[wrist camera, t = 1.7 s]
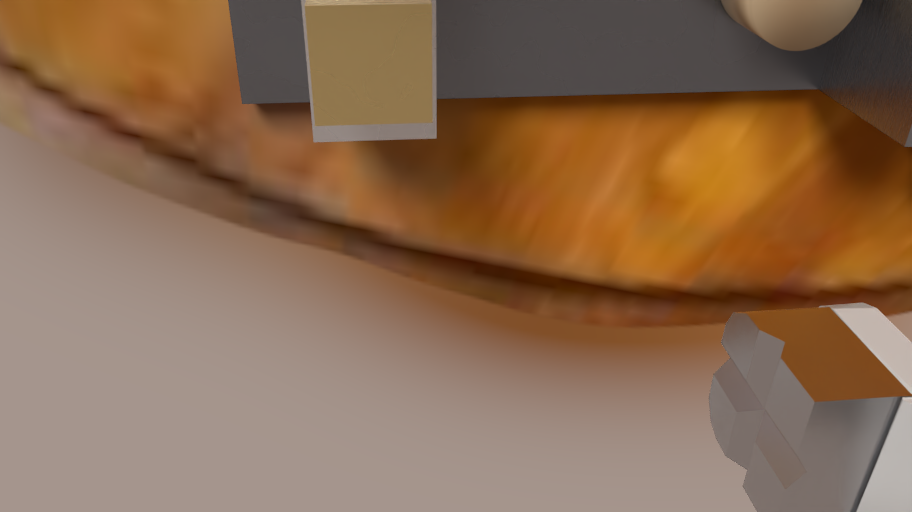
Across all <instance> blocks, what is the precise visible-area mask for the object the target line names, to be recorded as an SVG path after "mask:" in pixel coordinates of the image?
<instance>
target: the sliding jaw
mask: <svg viewBox="0 0 912 512" xmlns="http://www.w3.org/2000/svg"><path fill="white" fill-rule="evenodd" d="M301 5H302V17H303V28H304V39H305V50H306V61H307V73H308V84H309V95H310V106H311V118H312V129H313V140H314V142H337V141H370V140H403V139H436V138H437V95H436V0H301Z"/></svg>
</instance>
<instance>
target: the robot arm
mask: <svg viewBox="0 0 912 512" xmlns="http://www.w3.org/2000/svg"><path fill="white" fill-rule="evenodd" d="M721 343H722V345H723V347H724V348H725V350H726V351H727V353H728V355H729V356H730V359H729V360H728V361H727V362H726V363H724V365H722V366H721V368H719V369H718V370H717V371H716V372H715V373H714V375H713V380H712V385H711V390H710V395H709V405H710V418H711V423H712V427H713V430H714V433H715V436H716V439H717V441H718V443H719V445H720V446H721V448H722V450H723V452H724V454H725V456H727V457H728V458H730V459H731V460H733V461H734V462H736V463H738V464H739V465H740V466H742V467H744V468H745V469H747V473H746V477H745V480H744V484H743V488H744V489H745V491H746V493H747V495H748V496H749V498H750V500H751V501H752V503H753V505H754V507H755V508H756V510H757V512H912V342H911V341H910V340H909V339H908V338H907V337H906V336H905V335H904V334H903V333H901V332H900V331H899V330H898V329H897V328H896V327H895V326H894V325H893V324H892V323H891V322H890V321H889V320H888V319H887V318H886V317H885V316H884V315H883V314H882V313H881V312H880V311H879V310H878V309H877V308H875V307H873V306H870V305H868V304H865V303H852V304H840V305H827V306H820V307H818V308H802V309H786V310H769V311H752V312H736V313H733V314H732V316H731V317H730V319H729V320H728V322H727V323H726V326H725V330H724V334H723V338H722V342H721Z"/></svg>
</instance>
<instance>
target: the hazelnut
mask: <svg viewBox="0 0 912 512" xmlns="http://www.w3.org/2000/svg"><path fill="white" fill-rule="evenodd" d="M721 2H722V5H723V7H724V9H725V10H726V12H727V13H728V15H729V16H730V17H731V18H732V19H733V20H735V21H736V22H737V23H739V24H740V25H742V26H744V27H745V28H747V29H748V30H750V31H751V32H753V33H755V34H756V35H758V36H759V37H761V38H762V39H764V40H765V41H767V42H769V43H770V44H772V45H774V46H775V47H778V48H780V49H783V50H789V51H802V50H807V49H812V48H814V47H817V46H820V45H822V44H824V43H826V42H827V41H829V40H831V39H832V38H833V37H835V36H836V35H837V34H839V33H840V32H841V31H842V30H843V29H844V28H845V27H846V26H847V25H848V24H849V22H850V21H851V20H852V18H853V17H854V16H855V14H856V12H857V11H858V9H859V7H860V5H861V3H862V0H721Z"/></svg>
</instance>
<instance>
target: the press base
mask: <svg viewBox="0 0 912 512" xmlns="http://www.w3.org/2000/svg"><path fill="white" fill-rule="evenodd" d="M228 2H229V10H230V17H231V25H232V32H233V39H234V47H235V54H236V62H237V69H238V76H239V84H240V91H241V98H242V104H259V103H298V102H310V95H309V84H308V73H307V61H306V50H305V39H304V28H303V17H302V5H301V0H228ZM803 89H819V90H820V91H822V92H823V93H825V94H826V95H828V96H829V97H831V98H832V99H834V100H835V101H837V102H838V103H840V104H841V105H843V106H844V107H846V108H847V109H849V110H850V111H852V112H853V113H855V114H856V115H858V116H859V117H860V118H862V119H863V120H865V121H866V122H868V123H869V124H871V125H872V126H874V127H875V128H877V129H878V130H880V131H881V132H883V133H884V134H886V135H887V136H889V137H890V138H892V139H893V140H895V141H896V142H898V143H899V144H901V145H902V146H904V147H912V0H862V3H861V5H860V7H859V9H858V11H857V12H856V14H855V16H854V17H853V18H852V20H851V21H850V22H849V24H848V25H847V26H846V27H845V28H844V29H843V30H842V31H841V32H840V33H839V34H837V35H836V36H835V37H833V38H832V39H831V40H829V41H827V42H826V43H824V44H822V45H820V46H817V47H814V48H812V49H807V50H802V51H789V50H783V49H780V48H778V47H775V46H774V45H772V44H770V43H769V42H767V41H765V40H764V39H762V38H761V37H759V36H758V35H756V34H755V33H753V32H751V31H750V30H748V29H747V28H745V27H744V26H742V25H740V24H739V23H737V22H736V21H735V20H733V19H732V18H731V17H730V16H729V15H728V13H727V12H726V10H725V9H724V7H723V5H722V2H721V0H436V95H437V99H453V98H492V97H531V96H570V95H609V94H648V93H686V92H725V91H764V90H803Z"/></svg>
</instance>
